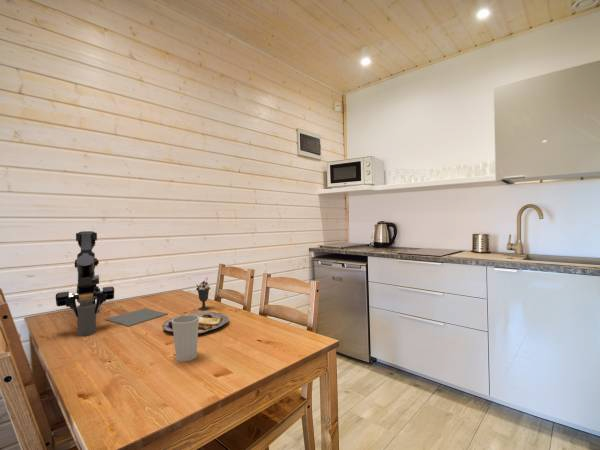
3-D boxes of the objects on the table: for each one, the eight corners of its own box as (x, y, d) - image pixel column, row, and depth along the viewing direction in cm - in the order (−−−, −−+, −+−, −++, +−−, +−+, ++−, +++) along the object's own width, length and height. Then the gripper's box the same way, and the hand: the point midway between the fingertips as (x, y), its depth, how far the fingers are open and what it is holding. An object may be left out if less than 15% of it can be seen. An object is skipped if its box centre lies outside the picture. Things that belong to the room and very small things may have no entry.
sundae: (213, 307, 148) (213, 277, 148) (204, 311, 142) (203, 279, 142) (203, 306, 151) (202, 276, 150) (193, 310, 144) (192, 278, 144)
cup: (183, 365, 89) (182, 324, 89) (167, 359, 93) (166, 320, 93) (205, 354, 96) (204, 317, 95) (188, 349, 100) (188, 313, 100)
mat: (105, 319, 132) (105, 318, 132) (144, 309, 147) (144, 308, 147) (128, 326, 123) (128, 325, 123) (167, 314, 138) (167, 313, 138)
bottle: (99, 330, 119) (98, 292, 118) (88, 336, 113) (86, 296, 113) (86, 330, 119) (85, 292, 119) (73, 336, 113) (72, 296, 113)
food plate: (149, 333, 115) (149, 324, 115) (187, 315, 137) (188, 307, 137) (207, 341, 108) (207, 331, 108) (237, 320, 130) (237, 312, 130)
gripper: (55, 271, 114) (52, 307, 105) (113, 266, 124) (115, 298, 115) (57, 288, 120) (55, 323, 111) (112, 282, 131) (115, 314, 122)
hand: (86, 314), depth 115 cm, fingers closed on bottle, 6 cm apart
